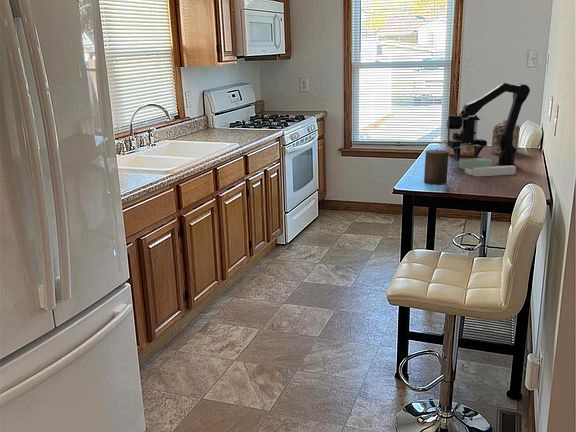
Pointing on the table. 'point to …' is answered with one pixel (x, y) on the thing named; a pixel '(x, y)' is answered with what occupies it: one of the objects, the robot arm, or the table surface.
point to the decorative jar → (499, 129)
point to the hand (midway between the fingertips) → (466, 160)
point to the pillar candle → (436, 167)
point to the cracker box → (465, 149)
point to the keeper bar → (474, 163)
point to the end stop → (491, 171)
